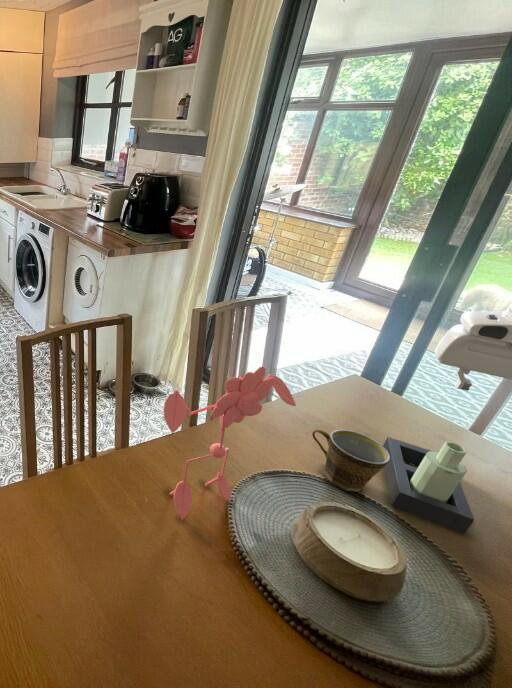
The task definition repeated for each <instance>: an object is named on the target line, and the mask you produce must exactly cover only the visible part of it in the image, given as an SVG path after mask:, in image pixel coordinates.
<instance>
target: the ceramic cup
mask: <svg viewBox="0 0 512 688" xmlns="http://www.w3.org/2000/svg"><path fill="white" fill-rule="evenodd" d="M316 433H318V434H320V435H322V436H323V437H324V438H325V439H326V442H327V450H326V449H325V448H324V447H323V445H322V443H321V442H320V441H319V439H318V438H317V437H316ZM311 435H312V438H313V440H315V442H316V444H318V446H319V448H320V450H321V451H322V452H323V453H324V456H325V466H324V471H323V473H324V476H325V477H326V478H327V479H328V480H329V483H331V484H332V485H335V486H337V487H339V488H340V489H342V490H344V491H348V492H358V493H359V492H360V491H361V490H362V489H363V488H364V487H365V486H366V485H367V484H368V483H369V481H370V480H371V479H372V478H373V477H375V476H376V475H377V474H378V473H379V472H380V471H382V470H383V469H384V468H385V467H384V466H385V465H386V464H387V463H388V462H389V460H390V455H389V453H388V452H387V450H386V449H385V448H384V447H383V445H382V444H380V443H379V442H377V440H375V439H373V438H371V437H370V436H367V435H365V434H363V433H360V432H356V431H353V430H349V429H336V430H333V431H332V432H331V434H329V433H328V432H327V431H325V430H323V429H314V430H313V431H312V434H311Z"/></svg>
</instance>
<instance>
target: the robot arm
mask: <svg viewBox="0 0 512 688" xmlns="http://www.w3.org/2000/svg"><path fill="white" fill-rule="evenodd" d="M459 321H460V324H456V325H454V326H452V327H451V328H448V330H447V331H446V333H445V334H444V335H443V337H442V338H441V339H440V341H439V342H438V344H437V346H436V348H435V349H434V355H435V358H436V360H437V361H438V362H439V363H440V364H442V365H445V366H449V367H454V369H455V371H456V375H457V380H456V381H455V384H454V385H455V388H456V389H458V390H462V391H466V392H468V391H469V390H470V388H472V386H473V383H472V382H471V379H469V378H465V375H467V376H468V375H469V374H470V372H475V373H481V374H485V375H489V376H494V377H497V378H502V379H507V380H511V381H512V302H511V303H510V304H509V305H508V306H507V308H506V310H496V311H495V310H493V311H492V310H491V311H467V312H463V313H462V314H461V316H460V318H459Z"/></svg>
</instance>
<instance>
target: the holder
mask: <svg viewBox="0 0 512 688" xmlns="http://www.w3.org/2000/svg"><path fill="white" fill-rule="evenodd" d="M382 446H383V447H384V448H385V449H386V450H387V452H388V453H389V455H390V460H389V462H388V463H387V464H386V465H385V466H384V467H383V468H384V471H385V477H386V482H387V488H388V492H389V498H390V503H391V506H392V507H395V508H397V509H398V510H399V509H400V510H402V511H405V512H407V513H410V514H412V515H415V516H418V517H420V518H422V519H426V520H428V521H432V522H433V523H435V524H439V525H441V526H444V527H446V528H448V529H451V530H453V531H457V532H459V533H462V534H465V533H466V532H467V531H468V530H469V528H470V527H471V525H472V524H473V523H474V521H475V517H474V515H473V512H472V510H471V508H470V505H469V502H468V499H467V497H466V495H465V492H464V489H463V486H462V484H461V481H460V482H459V484H458V485H457V487H456V488H455V490H454V491H453V493H452V494H451V496H450V497H449V499H448V500H447V502H446V503H444V502H442V501H439V500H436V499H433V498H431V497H428V496H425V495H422V494H420V493H417V492H414V491H411V488H410V484H409V482H410V480H411V478H412V477H413V475H414V473H415V472H416V470H417V468H418V467H419V465H420V463H421V462H422V460H423V458H424V457H425V455H426V454H427V452H431V451H432V450H431V449H428V448H424V447H421V446H418V445H415V444H411V443H408V442H405V441H402V440H398V439H396V438H392V437H389V436H387V437H386V439H385V441H384V443H383V445H382Z"/></svg>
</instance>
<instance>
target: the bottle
mask: <svg viewBox="0 0 512 688" xmlns="http://www.w3.org/2000/svg"><path fill="white" fill-rule="evenodd" d="M430 451H431V452H427V454H426V455H425V457H424V458H423V460H422V462H421V463H420V465H419V467H418V466H417V467H416V468H417V470H416V472H415V473H414V475H413V477H412V478H411V480H410V482H409V484H410V488H411V491H414V492H417V493H420V494H422V495H425V496H428V497H431V498H433V499H436V500H439V501H442V502H444V503H446V502H447V500H448V499H449V497H450V496H451V494H452V493H453V491H454V490H455V488H456V487H457V485H458V484H459V482H460V483H461V481H462V480H463V478H464V476H465V475H466V474H467V472H468V469H467V467H466V466H465V464H463V463H462V461H463V459H464V458H465V456H466V454H467V453H468V451H467V449H466V448H465V447H464V446H463V445H460V444H458V443H457V442H453V441H445V442H444V443H443V445H442V446H441V448H440V450H439V451H434V450H430Z"/></svg>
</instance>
